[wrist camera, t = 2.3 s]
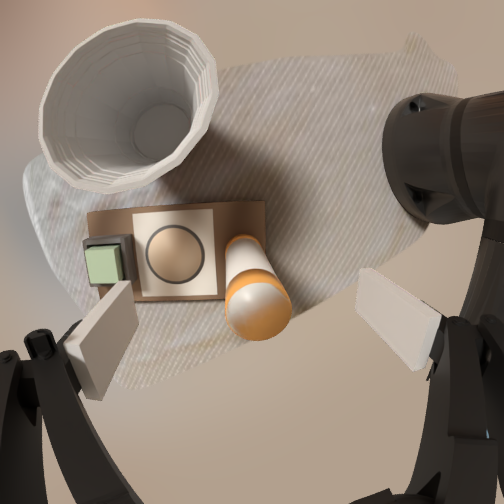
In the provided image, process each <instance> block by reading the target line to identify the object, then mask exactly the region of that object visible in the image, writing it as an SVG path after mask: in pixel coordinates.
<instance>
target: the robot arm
mask: <svg viewBox="0 0 504 504" xmlns="http://www.w3.org/2000/svg"><path fill="white" fill-rule="evenodd" d="M382 153H383V162H384V167H385V171H386V175H387V178H388V181H389V184H390V186H391V188H392V190H393V192H394V194H395V196H396V198H397V199H398V201H399V202H400V203H401V205H402V206H403V207H404V208H405V209H406V210H407V211H408V212H409V213H410V214H412V215H413V216H414V217H416V218H418V219H420V220H423V221H427V222H430V223H434V224H443V225H444V224H451V223H456V222H460V221H465V220H470V219H474V218H483V219H485V220H484V226H483V232H482V237H481V241H480V246H479V250H478V255H477V259H476V263H475V267H474V271H473V274H472V278H471V282H470V285H469V289H468V292H467V295H466V298H465V301H464V304H463V307H462V310H461V312H460V315H459V317H458V316H451V317H449V318H447V317H445V316H444V315H442V314H441V313H440V312H438V311H437V310H435V309H433V308H432V307H431V306H428V304H426V303H425V302H424V301H422V300H419V299H418V298H416V297H415V296H413V295H412V294H410V293H409V292H407V291H406V290H404V289H403V288H401V287H400V286H398V285H397V284H395V283H394V282H392V281H391V280H389V279H388V278H386V277H385V276H383V275H381V274H380V273H378V272H377V271H375V270H374V269H372V268H360V272H359V281H358V290H357V298H356V306H355V311H356V312H357V313H358V314H359V315H360V316H361V317H362V318H363V319H364V320H365V321H366V322H367V323H368V324H369V325H370V327H371V328H372V329H373V330H374V331H375V332H376V333H377V334H378V335H379V336H380V337H381V338H382V339H383V340H384V341H385V342H386V343H387V344H388V346H390V348H391V349H392V350H393V351H394V352H395V353H396V354H397V355H398V356H399V357H400V358H401V360H402V361H403V362H404V363H405V364H406V365H407V366H408V367H409V368H410V369H411V370H412V371H413V372H414V371H418V370H420V369H423V368H425V367H426V364H427V361H428V358H429V357H430V358H431V359H433V361H434V362H433V364H432V367H431V369H430V372H429V375H428V377H427V379H426V380H427V381H428V380H429V378H430V386H429V395H428V403H427V410H426V416H425V422H424V428H423V433H422V438H421V443H420V448H419V452H418V456H417V460H416V464H415V468H414V472H413V475H412V478H411V481H410V484H409V486H408V488H407V490H406V491H405V493H404V494H397V495H396V494H395V495H392V493H391V491H390V489H389V488H388V489H385V490H383V491H381V492H378V493H375V494H373V495H370V496H367V497H364V498H361V499H359V500H356V501H353V502H351V503H350V504H495V498H496V489H497V475H498V479H499V484H500V488H501V491H502V494H503V497H504V244H503V243H504V91H499V92H494V93H489V94H484V95H479V96H475V97H471V98H465V99H462V98H457V97H452V96H446V95H440V94H433V93H420V94H416V95H414V96H411V97H408V98H405V99H403V100H402V101H400V102H399V103H398V104H396V106H395V107H394V108H393V109H392V111H391V112H390V114H389V116H388V118H387V120H386V123H385V127H384V132H383V139H382ZM500 242H501V243H500ZM138 325H139V321H138V317H137V312H136V307H135V302H134V296H133V291H132V285H131V281H118V282H117V283H116V284H115V285H114V286H113V287H112V288H111V289H110V291H109V292H108V293H107V294H106V295H105V296H104V297H103V298H102V299H101V300H100V301H99V302H98V304H97V305H96V306H95V307H94V308H93V309H92V310H91V311H90V312H89V314H88V315H87V316H86V317H85V318H84V319H83V320H80V321H78V322H76V323H75V324H73V325H72V326H71V327H70V329H69V330H68V331H67V332H66V333H65V334H64V336H63V337H62V338H61V339H60V340H59V341H58V342H57V344H56V342H55V340H54V337H53V334H52V332H51V331H50V330H48V329H38V330H35V331H32V332H31V333H29V334H28V335H27V336H26V337H25V338H24V343H25V346H26V348H27V350H28V353H29V355H30V358H31V360H20V358H19V355H18V353H17V352H16V351H14V350H8V351H3V352H1V353H0V504H48V500H47V495H46V487H45V479H44V469H43V454H42V415H43V419H44V422H45V426H46V429H47V433H48V436H49V439H50V442H51V445H52V448H53V451H54V453H55V456H56V459H57V461H58V464H59V466H60V469H61V471H62V474H63V476H64V478H65V481H66V483H67V485H68V487H69V489H70V491H71V493H72V496H73V498H74V499H75V502H76V503H77V504H144V503H143V502H142V500H141V499H140V498H139V497H138V495H137V494H136V493H135V492H134V490H133V489H132V487H131V486H130V485H129V483H128V482H127V480H126V479H125V478H124V476H123V475H122V473H121V472H120V471H119V469H118V467H117V466H116V464H115V463H114V461H113V459H112V458H111V456H110V455H109V453H108V451H107V450H106V448H105V446H104V445H103V443H102V441H101V439H100V437H99V436H98V434H97V432H96V430H95V428H94V426H93V425H92V422H91V420H90V418H89V416H88V415H87V412H86V410H85V408H84V407H83V404H82V402H81V400H80V398H79V396H78V393H79V392H80V390H81V388H82V391H83V393H84V395H85V397H86V399H92V400H98V401H102V399H103V397H104V395H105V393H106V391H107V388H108V386H109V384H110V382H111V380H112V378H113V376H114V373H115V371H116V369H117V367H118V365H119V363H120V361H121V359H122V357H123V355H124V353H125V351H126V349H127V347H128V345H129V343H130V341H131V339H132V337H133V335H134V333H135V331H136V329H137V327H138Z"/></svg>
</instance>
